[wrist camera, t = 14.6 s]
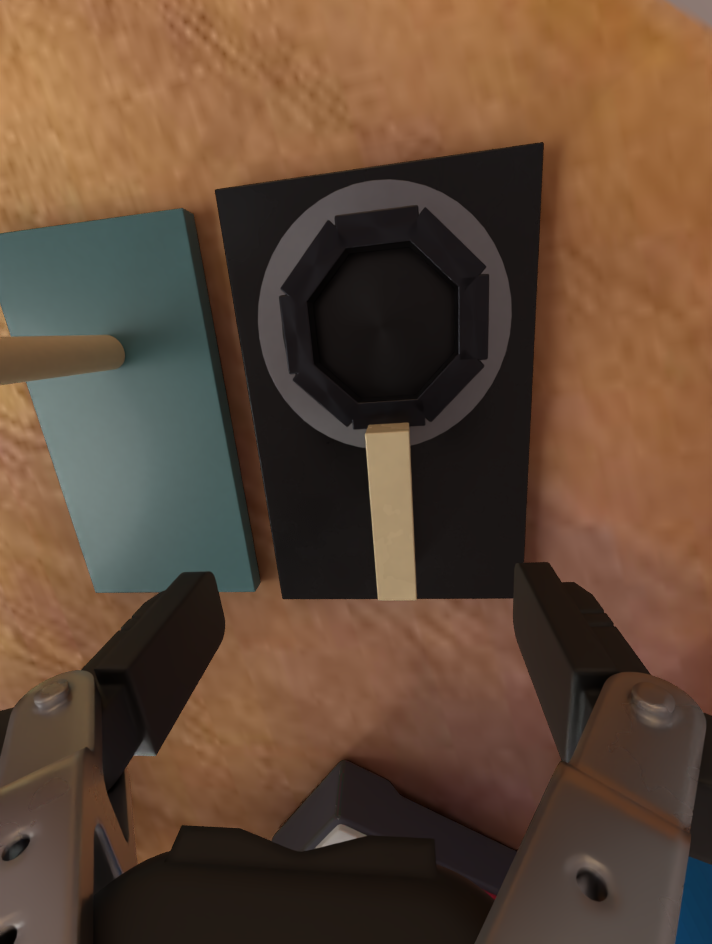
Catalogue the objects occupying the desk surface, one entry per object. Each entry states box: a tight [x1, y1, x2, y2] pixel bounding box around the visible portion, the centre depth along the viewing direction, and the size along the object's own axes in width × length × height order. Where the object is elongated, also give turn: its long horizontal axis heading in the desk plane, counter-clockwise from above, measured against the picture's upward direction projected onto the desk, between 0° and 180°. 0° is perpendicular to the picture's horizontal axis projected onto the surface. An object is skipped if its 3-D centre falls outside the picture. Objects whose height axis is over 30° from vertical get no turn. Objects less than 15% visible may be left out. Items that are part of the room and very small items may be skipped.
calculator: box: [272, 760, 517, 900], centre depth 29 cm, size 11×4×15 cm
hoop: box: [279, 205, 489, 600], centre depth 18 cm, size 16×8×3 cm, turn 5°
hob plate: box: [215, 142, 544, 599], centre depth 20 cm, size 13×20×1 cm, turn 5°
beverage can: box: [675, 856, 712, 944], centre depth 20 cm, size 6×6×12 cm
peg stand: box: [0, 208, 261, 593], centre depth 17 cm, size 10×19×11 cm, turn 5°
